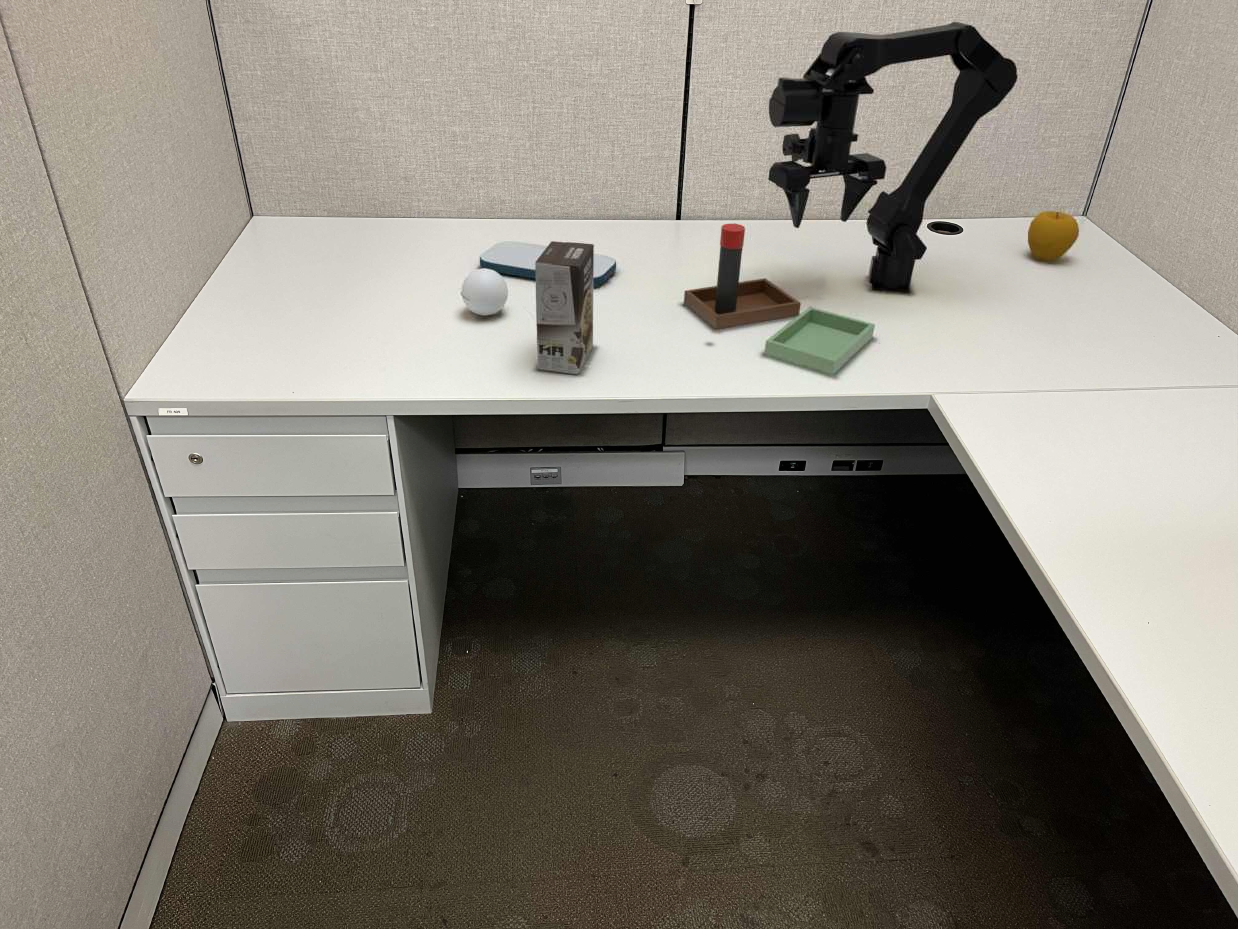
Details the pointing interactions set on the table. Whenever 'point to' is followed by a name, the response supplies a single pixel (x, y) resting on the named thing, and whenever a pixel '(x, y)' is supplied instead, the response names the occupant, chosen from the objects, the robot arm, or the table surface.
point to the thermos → (729, 267)
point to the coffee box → (564, 306)
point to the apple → (1052, 235)
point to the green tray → (819, 340)
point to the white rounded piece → (484, 292)
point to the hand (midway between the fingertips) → (820, 224)
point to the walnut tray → (743, 304)
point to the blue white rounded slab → (523, 257)
